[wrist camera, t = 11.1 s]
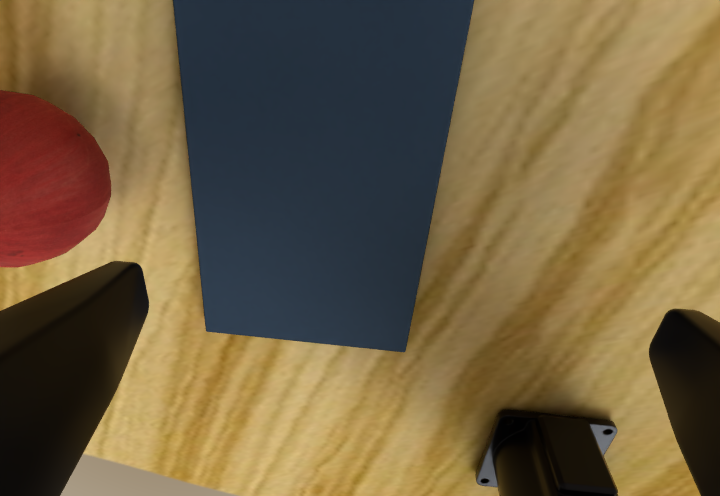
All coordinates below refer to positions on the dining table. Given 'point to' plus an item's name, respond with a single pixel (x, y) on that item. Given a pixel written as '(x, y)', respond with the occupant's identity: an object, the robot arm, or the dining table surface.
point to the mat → (316, 159)
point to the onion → (46, 181)
